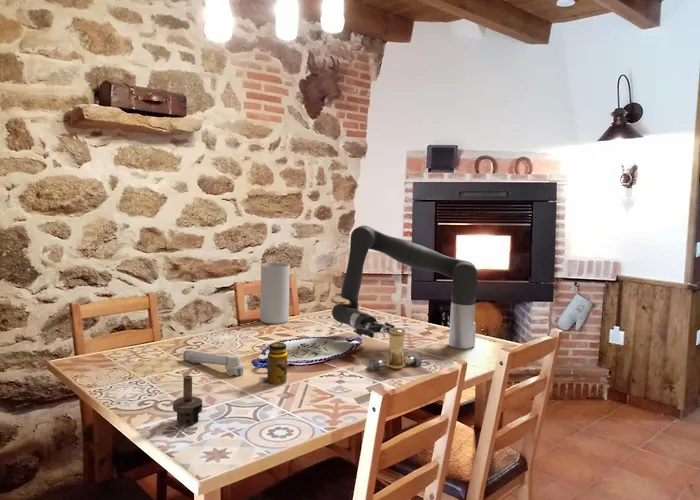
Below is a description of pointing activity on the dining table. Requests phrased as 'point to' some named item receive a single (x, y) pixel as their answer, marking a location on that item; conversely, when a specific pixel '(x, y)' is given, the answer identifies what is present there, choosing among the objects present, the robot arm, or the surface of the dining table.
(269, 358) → the condiment
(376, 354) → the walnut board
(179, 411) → the industrial component
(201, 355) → the grey lever handle
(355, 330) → the robot arm
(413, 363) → the shaft
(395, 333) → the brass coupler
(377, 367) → the shaft
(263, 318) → the cylinder vase
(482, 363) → the dining table surface
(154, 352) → the dining table surface
